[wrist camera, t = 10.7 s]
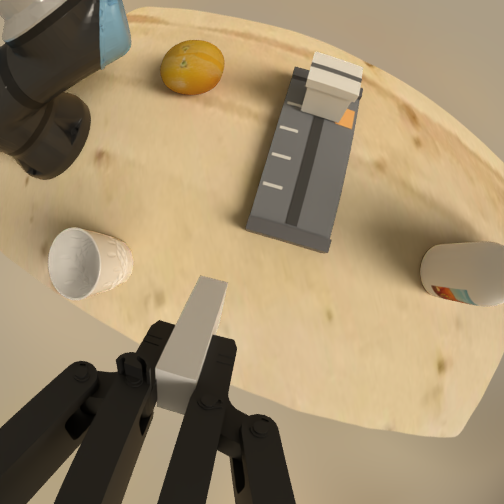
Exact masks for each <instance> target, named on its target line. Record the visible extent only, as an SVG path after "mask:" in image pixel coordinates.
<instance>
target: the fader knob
mask: <svg viewBox="0 0 504 504" xmlns="http://www.w3.org/2000/svg"><path fill="white" fill-rule="evenodd" d="M362 72H363V67H361V66H358V65H355V64H353V63H350V62H347V61H344V60H341V59H338V58H335V57H332V56H329V55H326V54H322V53H319V52H316V51H315V53H314V57H313V60H312V64H311V68H310V71H309V75H308V78H307V82H306V85H305V86H306V87H307V90H306V93H305V97H304V101H303V104H302V108H301V111H303V112H306V113H309V114H313V115H316V116H319V117H322V118H325V119H328V120H331V121H334V122H337V123H339V121H340V120H341V118H342V116H343V115H344V113H345V111H346V110H347V108H348V106H349V105H350V103H351V102H354V103H355V101H356V100H357V98H358V97H359V92H360V86H361V81H362Z"/></svg>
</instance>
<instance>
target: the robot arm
mask: <svg viewBox="0 0 504 504" xmlns="http://www.w3.org/2000/svg"><path fill="white" fill-rule="evenodd" d="M0 15H1V17H2V18H3V19H4V20H5V24H4V29H3V34H2V39H3V41H4V42H5V44H4V45H3V46H1V47H0V152H3V153H6V154H8V155H10V156H12V157H13V158H14V159H15V160H16V161H17V163H18V164H19V165H20V166H21V167H22V168H23V169H24V170H25V171H26V172H27V173H28V174H29V175H31V176H33V177H36V178H39V179H43V180H47V179H51V178H54V177H56V176H58V175H60V174H61V173H63V172H64V171H65V170H66V169H67V168H68V167H69V166H70V165H71V164H72V163H73V162H74V161H75V159H76V158H77V157H78V155H79V153H80V152H81V150H82V148H83V146H84V144H85V142H86V140H87V137H88V134H89V130H90V123H91V117H90V111H89V108H88V106H87V105H86V104H85V103H84V102H83V101H82V100H81V99H80V98H79V97H77V96H76V95H73V94H70V93H66V92H64V91H65V90H67V89H68V88H70V87H71V86H73V85H75V84H76V83H78V82H79V81H81V80H82V79H84V78H86V77H87V76H89V75H91V74H92V73H94V72H96V71H98V70H99V69H101V70H103V69H104V68H105V66H107V65H108V64H110V63H112V62H113V61H115V60H117V59H119V58H120V57H122V56H124V55H125V54H126V53H127V52H128V51H129V49H130V47H131V35H130V30H129V25H128V21H127V17H126V13H125V9H124V6H123V2H122V0H0ZM227 285H228V282H224V281H220V280H216V279H212V278H208V277H204V276H201V275H200V277H199V279H198V281H197V283H196V285H195V287H194V289H193V291H192V293H191V295H190V297H189V299H188V301H187V303H186V305H185V307H184V309H183V311H182V313H181V315H180V317H179V319H178V321H177V323H176V325H174V324H170V323H167V322H164V321H160V320H159V321H157V322H156V323H155V324H153V325H152V326H151V327H150V329H149V330H148V332H147V335H146V336H145V337H144V339H143V342H142V343H141V344H140V346H139V348H138V350H137V352H136V353H134V352H129V353H124V354H122V355H120V356H119V357H118V358H117V359H116V364H117V369H118V372H102V371H97V370H96V368H95V367H94V366H93V365H92V364H90V363H88V362H85V361H79V362H74V363H73V364H71V365H70V366H68V367H67V368H66V369H65V370H64V371H63V372H62V373H61V374H59V375H58V376H57V377H56V378H55V379H54V380H52V381H51V382H50V383H49V384H48V385H47V386H46V387H45V388H44V389H42V391H40V392H39V393H38V394H37V395H36V396H35V397H34V398H32V399H31V401H29V402H28V403H27V404H26V405H25V406H24V407H23V408H21V410H19V411H18V412H17V413H16V414H15V415H14V416H13V417H12V418H11V419H10V420H9V421H7V422H6V423H5V424H4V425H3V426H2V427H1V428H0V504H27V502H28V501H29V500H30V499H31V498H32V497H33V496H34V495H35V494H36V493H37V491H38V490H39V489H40V488H41V487H42V486H43V485H44V484H45V483H46V481H47V480H48V479H49V478H50V477H51V476H52V475H53V474H54V473H55V472H56V470H57V469H58V468H59V467H60V466H61V465H62V464H63V463H64V462H65V460H66V459H67V458H68V457H69V456H70V455H71V454H72V453H73V452H74V450H75V449H76V448H77V447H78V446H79V445H80V444H81V445H80V447H79V449H78V451H77V453H76V456H75V458H74V460H73V462H72V464H71V466H70V468H69V471H68V473H67V475H66V477H65V479H64V481H63V484H62V486H61V488H60V490H59V493H58V495H57V497H56V500H55V502H54V504H121V503H122V500H123V497H124V495H125V492H126V489H127V486H128V483H129V480H130V477H131V475H132V472H133V469H134V467H135V464H136V461H137V458H138V456H139V453H140V450H141V447H142V445H143V442H144V439H145V437H146V434H147V432H148V429H149V426H150V424H151V421H152V419H153V413H154V412H153V409H154V407H155V404H156V402H157V407H161V408H164V409H167V410H170V411H173V412H177V413H180V414H183V415H184V419H183V422H182V425H181V428H180V431H179V435H178V438H177V441H176V444H175V447H174V450H173V454H172V457H171V460H170V463H169V467H168V470H167V473H166V476H165V480H164V483H163V487H162V490H161V493H160V496H159V500H158V503H157V504H206V499H207V494H208V489H209V485H210V480H211V476H212V471H213V466H214V461H215V456H216V452H217V450H218V451H220V452H222V453H224V454H226V455H228V456H229V457H230V465H231V473H232V481H233V488H234V497H235V503H236V504H296V503H295V499H294V494H293V490H292V486H291V482H290V478H289V473H288V469H287V465H286V461H285V456H284V452H283V447H282V443H281V439H280V434H279V430H278V427H277V425H276V423H275V422H274V421H273V420H272V419H271V418H270V417H267V416H265V415H260V414H255V415H250V416H248V415H246V414H244V413H242V412H241V411H239V410H237V409H236V408H235V407H234V406H233V405H232V404H231V402H230V401H229V398H228V391H229V386H230V381H231V376H232V371H233V366H234V361H235V357H236V352H237V347H236V344H235V341H234V340H233V339H228V338H224V337H220V336H216V333H217V329H218V326H219V323H220V319H221V314H222V309H223V304H224V299H225V295H226V290H227Z"/></svg>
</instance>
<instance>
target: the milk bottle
mask: <svg viewBox="0 0 504 504" xmlns="http://www.w3.org/2000/svg"><path fill="white" fill-rule="evenodd" d="M420 276H421V281H422V284H423V286H424V288H425V289H426V291H427V292H428V293H429V294H431V295H432V296H435V297H439V298H443V299H448V300H452V301H457V302H461V303H466V304H471V305H477V306H484V307H490V306H496V305H500V304H502V303H504V246H503V245H501V244H498V243H495V242H465V243H451V244H439V245H435V246H433V247H432V248H430V249H429V250H428V251H427V253H426V254H425V255H424V258H423V260H422V263H421V268H420Z"/></svg>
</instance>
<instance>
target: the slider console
mask: <svg viewBox="0 0 504 504" xmlns="http://www.w3.org/2000/svg"><path fill="white" fill-rule="evenodd" d="M308 75H309V70H306V69H302V68H298V67H295V68H294V71H293V75H292V79H291V82H290V86H289V89H288V92H287V95H286V98H285V102H284V105H283V108H282V111H281V114H280V118H279V121H278V124H277V127H276V131H275V134H274V137H273V140H272V144H271V147H270V150H269V154H268V157H267V160H266V163H265V167H264V170H263V173H262V177H261V180H260V183H259V187H258V190H257V193H256V197H255V200H254V203H253V207H252V210H251V214H250V215H249V218H248V222H247V225H246V231H249V232H252V233H256V234H259V235H262V236H266V237H269V238H273V239H276V240H280V241H283V242H286V243H290V244H293V245H296V246H300V247H303V248H307V249H310V250H313V251H317V252H320V253H328V251H329V247H330V244H331V240H330V236H331V232H332V228H333V225H334V221H335V217H336V213H337V208H338V204H339V200H340V196H341V192H342V187H343V183H344V178H345V174H346V169H347V164H348V160H349V155H350V150H351V145H352V140H353V135H354V129H355V124H356V118H357V112H358V106H359V100H360V99H361V97H362V91H363V88H360V92H359V97H358V98H357V100H356V101H355V103H354V102H351V103H350V105H349V106H348V108H347V110H346V111H345V113H344V115H343V116H342V118H341V120H340V121H339V123H337V122H334V121H331V120H328V119H325V118H322V117H319V116H316V115H313V114H309V113H306V112H303V111H301V108H302V104H303V101H304V97H305V93H306V90H307V87H306V86H305V85H306V82H307V78H308Z"/></svg>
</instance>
